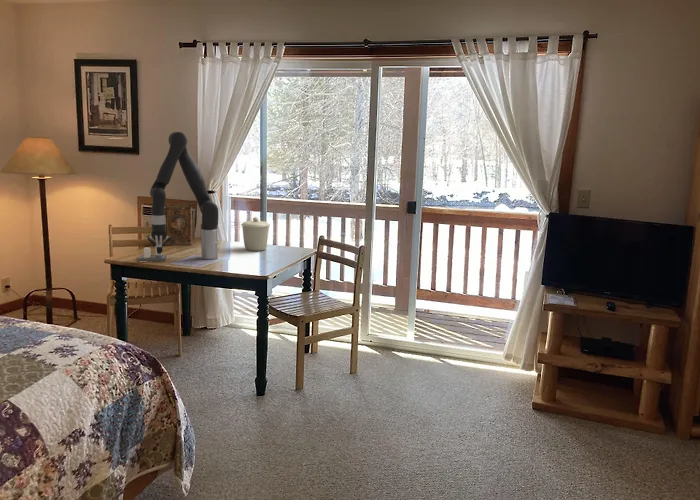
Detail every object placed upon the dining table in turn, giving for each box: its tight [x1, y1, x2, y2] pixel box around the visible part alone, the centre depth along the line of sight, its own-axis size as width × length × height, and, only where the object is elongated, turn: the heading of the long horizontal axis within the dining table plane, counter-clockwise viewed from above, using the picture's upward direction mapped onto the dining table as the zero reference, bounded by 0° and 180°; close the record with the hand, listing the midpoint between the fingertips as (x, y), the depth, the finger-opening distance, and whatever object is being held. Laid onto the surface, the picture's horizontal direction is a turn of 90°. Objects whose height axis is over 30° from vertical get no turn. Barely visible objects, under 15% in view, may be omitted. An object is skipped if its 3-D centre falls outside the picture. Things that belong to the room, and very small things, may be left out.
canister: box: [240, 216, 271, 252], centre depth 356 cm, size 18×18×21 cm
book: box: [165, 205, 193, 247], centre depth 360 cm, size 16×6×25 cm, turn 105°
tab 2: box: [154, 245, 163, 256], centre depth 319 cm, size 3×4×5 cm
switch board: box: [138, 254, 168, 262], centre depth 317 cm, size 14×10×2 cm
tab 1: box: [143, 247, 151, 258], centre depth 313 cm, size 3×4×5 cm
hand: (159, 253), depth 315 cm, fingers closed
